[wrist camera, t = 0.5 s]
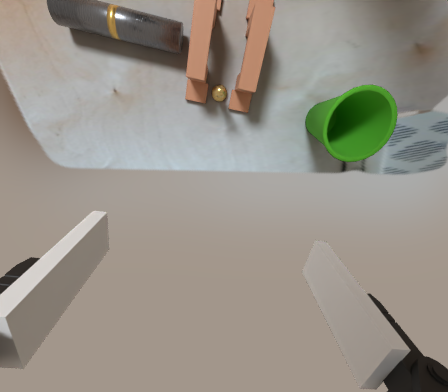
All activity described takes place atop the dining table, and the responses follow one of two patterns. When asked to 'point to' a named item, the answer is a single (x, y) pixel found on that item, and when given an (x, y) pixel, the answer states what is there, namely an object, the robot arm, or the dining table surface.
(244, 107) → the collar
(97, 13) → the tube
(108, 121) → the dining table surface
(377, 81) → the dining table surface
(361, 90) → the cup
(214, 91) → the pointer post
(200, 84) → the collar
